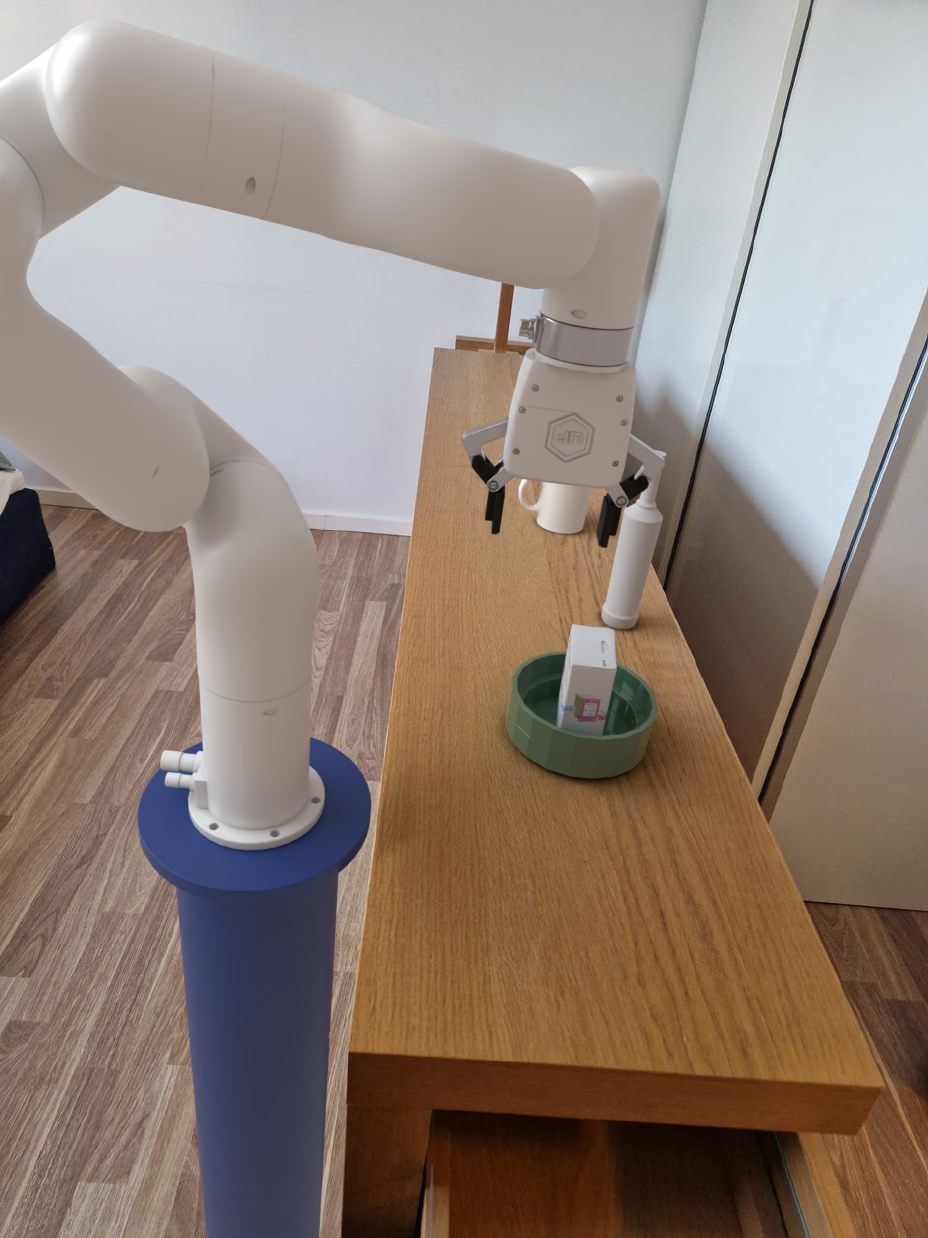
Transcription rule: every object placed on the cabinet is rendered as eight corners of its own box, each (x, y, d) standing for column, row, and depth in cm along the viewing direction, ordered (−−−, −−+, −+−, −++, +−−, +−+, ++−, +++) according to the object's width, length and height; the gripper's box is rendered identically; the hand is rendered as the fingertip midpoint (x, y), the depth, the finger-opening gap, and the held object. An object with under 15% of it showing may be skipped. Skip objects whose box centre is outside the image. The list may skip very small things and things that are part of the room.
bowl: (504, 773, 93) (512, 729, 90) (505, 684, 107) (511, 644, 104) (654, 790, 93) (667, 747, 90) (635, 700, 107) (646, 660, 104)
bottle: (608, 630, 120) (647, 460, 107) (594, 611, 125) (631, 445, 112) (642, 629, 122) (685, 461, 109) (628, 610, 126) (668, 445, 113)
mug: (519, 532, 144) (529, 473, 139) (509, 511, 151) (518, 454, 146) (588, 534, 147) (600, 476, 141) (575, 513, 153) (586, 457, 148)
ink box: (554, 704, 103) (571, 620, 97) (596, 711, 103) (616, 626, 97) (553, 750, 96) (571, 662, 90) (598, 757, 96) (620, 669, 90)
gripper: (473, 339, 66) (450, 541, 75) (698, 367, 66) (649, 565, 75) (476, 317, 72) (454, 506, 81) (682, 343, 73) (638, 528, 82)
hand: (548, 534), depth 78 cm, fingers open, 9 cm apart
